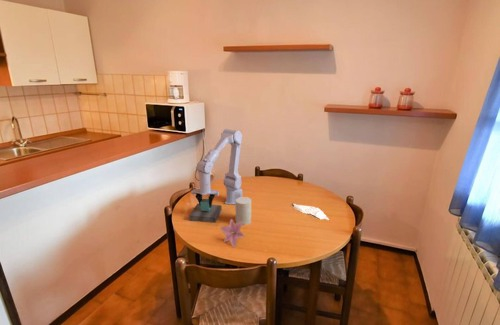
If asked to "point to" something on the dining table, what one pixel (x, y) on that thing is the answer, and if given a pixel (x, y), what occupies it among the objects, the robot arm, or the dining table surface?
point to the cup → (243, 210)
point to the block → (205, 205)
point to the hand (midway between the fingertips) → (205, 206)
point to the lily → (232, 232)
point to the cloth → (311, 211)
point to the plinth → (205, 214)
